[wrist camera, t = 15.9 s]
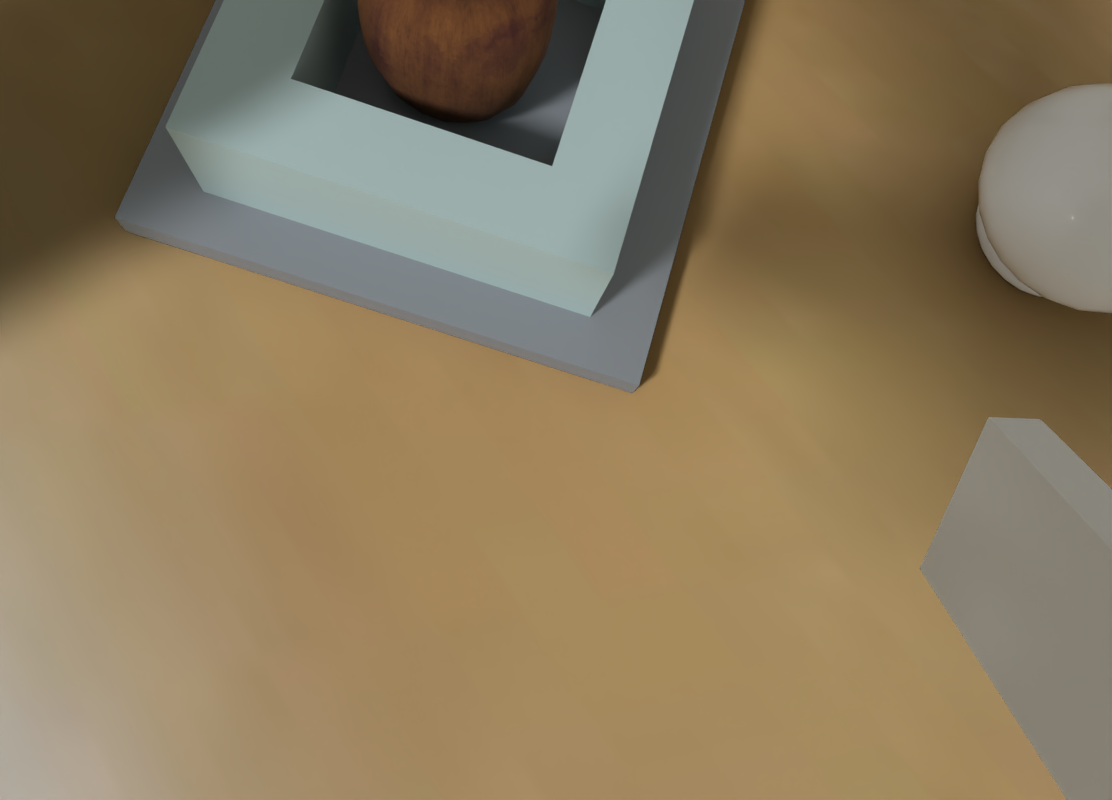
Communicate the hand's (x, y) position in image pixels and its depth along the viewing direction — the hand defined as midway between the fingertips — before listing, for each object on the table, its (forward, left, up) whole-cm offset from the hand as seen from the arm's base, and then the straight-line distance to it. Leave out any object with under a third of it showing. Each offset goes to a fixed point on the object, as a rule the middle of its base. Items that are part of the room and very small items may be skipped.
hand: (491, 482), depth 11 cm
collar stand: (-5, +18, -20) cm, 28 cm away
